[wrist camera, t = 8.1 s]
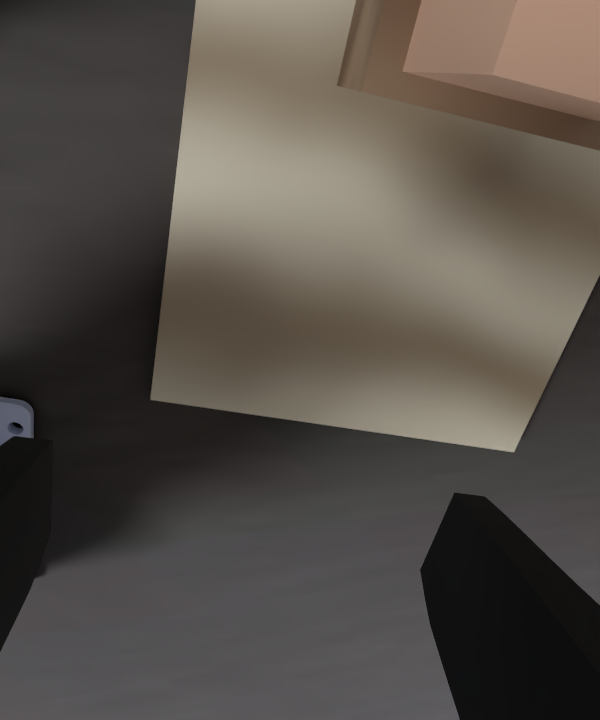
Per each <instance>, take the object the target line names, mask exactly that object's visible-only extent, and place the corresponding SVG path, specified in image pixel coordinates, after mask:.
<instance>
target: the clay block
mask: <svg viewBox="0 0 600 720" xmlns="http://www.w3.org/2000/svg"><path fill="white" fill-rule="evenodd" d="M402 72H406V73H410V74H414V75H418V76H422V77H426V78H430V79H434V80H438V81H442V82H446V83H450V84H453V85H457V86H461V87H465V88H469V89H473V90H477V91H481V92H485V93H489V94H493V95H497V96H500V97H504V98H508V99H512V100H516V101H520V102H524V103H528V104H532V105H536V106H540V107H544V108H548V109H551V110H555V111H559V112H563V113H567V114H571V115H575V116H579V117H583V118H587V119H591V120H595V121H600V0H422V1H421V4H420V8H419V12H418V16H417V19H416V23H415V27H414V30H413V34H412V38H411V42H410V45H409V49H408V53H407V57H406V60H405V64H404V68H403V71H402Z"/></svg>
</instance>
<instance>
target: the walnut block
mask: <svg viewBox="0 0 600 720" xmlns="http://www.w3.org/2000/svg"><path fill="white" fill-rule="evenodd" d="M421 1H422V0H356V3H355V7H354V11H353V16H352V20H351V25H350V29H349V34H348V38H347V43H346V47H345V51H344V56H343V60H342V65H341V69H340V74H339V78H338V83H337V86H340V87H344V88H348V89H352V90H356V91H360V92H364V93H368V94H372V95H376V96H380V97H384V98H388V99H392V100H396V101H400V102H404V103H408V104H412V105H417V106H421V107H425V108H429V109H433V110H437V111H441V112H445V113H449V114H453V115H457V116H461V117H465V118H469V119H473V120H477V121H481V122H485V123H489V124H493V125H497V126H501V127H505V128H509V129H513V130H517V131H521V132H525V133H529V134H534V135H538V136H542V137H546V138H550V139H554V140H558V141H562V142H566V143H570V144H574V145H578V146H582V147H586V148H591V149H595V150H599V151H600V121H595V120H591V119H587V118H583V117H579V116H575V115H571V114H567V113H563V112H559V111H555V110H551V109H548V108H544V107H540V106H536V105H532V104H528V103H524V102H520V101H516V100H512V99H508V98H504V97H500V96H497V95H493V94H489V93H485V92H481V91H477V90H473V89H469V88H465V87H461V86H457V85H453V84H450V83H446V82H442V81H438V80H434V79H430V78H426V77H422V76H418V75H414V74H410V73H406V72H402V71H403V68H404V64H405V60H406V57H407V53H408V49H409V45H410V42H411V38H412V34H413V30H414V27H415V23H416V19H417V16H418V12H419V8H420V4H421Z"/></svg>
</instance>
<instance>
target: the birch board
mask: <svg viewBox="0 0 600 720" xmlns="http://www.w3.org/2000/svg"><path fill="white" fill-rule="evenodd" d="M355 3H356V0H196V6H195V14H194V23H193V32H192V41H191V49H190V58H189V67H188V75H187V84H186V93H185V102H184V110H183V119H182V128H181V136H180V145H179V154H178V163H177V171H176V180H175V189H174V197H173V206H172V215H171V224H170V232H169V241H168V250H167V258H166V267H165V276H164V285H163V293H162V302H161V311H160V319H159V328H158V337H157V346H156V354H155V363H154V372H153V380H152V389H151V398H150V400H155V401H162V402H169V403H176V404H183V405H190V406H197V407H204V408H211V409H218V410H224V411H231V412H238V413H245V414H252V415H259V416H266V417H273V418H280V419H287V420H294V421H301V422H308V423H314V424H321V425H328V426H335V427H342V428H349V429H356V430H363V431H370V432H377V433H384V434H391V435H398V436H405V437H411V438H418V439H425V440H432V441H439V442H446V443H453V444H460V445H467V446H474V447H481V448H488V449H495V450H502V451H508V452H514V451H515V449H516V447H517V445H518V443H519V441H520V438H521V436H522V434H523V432H524V430H525V428H526V426H527V424H528V422H529V420H530V418H531V416H532V414H533V412H534V410H535V408H536V405H537V403H538V401H539V399H540V397H541V395H542V393H543V391H544V389H545V387H546V385H547V383H548V381H549V379H550V377H551V374H552V372H553V370H554V368H555V366H556V364H557V362H558V360H559V358H560V356H561V354H562V352H563V350H564V348H565V346H566V344H567V341H568V339H569V337H570V335H571V333H572V331H573V329H574V327H575V325H576V323H577V321H578V319H579V317H580V315H581V313H582V310H583V308H584V306H585V304H586V302H587V300H588V298H589V296H590V294H591V292H592V290H593V288H594V286H595V284H596V282H597V280H598V277H599V275H600V151H599V150H595V149H591V148H586V147H582V146H578V145H574V144H570V143H566V142H562V141H558V140H554V139H550V138H546V137H542V136H538V135H534V134H529V133H525V132H521V131H517V130H513V129H509V128H505V127H501V126H497V125H493V124H489V123H485V122H481V121H477V120H473V119H469V118H465V117H461V116H457V115H453V114H449V113H445V112H441V111H437V110H433V109H429V108H425V107H421V106H417V105H412V104H408V103H404V102H400V101H396V100H392V99H388V98H384V97H380V96H376V95H372V94H368V93H364V92H360V91H356V90H352V89H348V88H344V87H340V86H337V83H338V78H339V74H340V69H341V65H342V60H343V56H344V51H345V47H346V43H347V38H348V34H349V29H350V25H351V20H352V16H353V11H354V7H355Z"/></svg>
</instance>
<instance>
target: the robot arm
mask: <svg viewBox="0 0 600 720" xmlns="http://www.w3.org/2000/svg"><path fill="white" fill-rule="evenodd" d="M12 422H16V423H19V424H20V425H21V426H22V427H23V428H17V427H15V426H14V425H13V423H12ZM52 446H53V441H50V440H42V439H34V412H33V409H32V407H31V406H30V405H29V404H28V403H26V402H25V401H22V400H18V399H11V398H4V397H0V651H1V649H2V647H3V645H4V643H5V641H6V639H7V637H8V635H9V632H10V630H11V628H12V626H13V624H14V622H15V620H16V618H17V616H18V614H19V612H20V610H21V608H22V606H23V603H24V601H25V599H26V597H27V595H28V593H29V591H30V589H31V586H32V583H33V580H34V578H35V575H36V572H37V569H38V567H39V564H40V561H41V558H42V555H43V552H44V549H45V546H46V543H47V540H48V538H49V535H50V532H51V490H52ZM420 571H421V577H422V583H423V589H424V595H425V601H426V606H427V611H428V616H429V621H430V625H431V629H432V632H433V635H434V639H435V642H436V645H437V648H438V652H439V655H440V658H441V661H442V665H443V668H444V671H445V674H446V677H447V680H448V684H449V687H450V690H451V693H452V696H453V699H454V702H455V706H456V709H457V712H458V715H459V718H460V720H600V605H599V604H598V603H597V602H595V601H594V600H593V599H592V598H591V597H590V596H589V595H588V594H587V593H586V592H585V591H584V590H582V589H581V588H580V587H579V586H578V585H577V584H576V583H575V582H574V581H573V580H572V579H571V578H570V577H569V576H568V575H567V574H566V573H565V572H564V571H563V570H561V569H560V568H559V567H558V566H557V565H556V564H555V563H554V562H553V561H552V560H551V559H550V558H549V557H548V556H547V555H546V554H545V553H544V552H543V551H542V550H541V549H540V548H539V547H538V546H537V545H536V544H535V543H534V542H533V541H532V540H531V539H530V538H529V537H528V536H527V535H526V534H524V533H523V532H522V531H521V530H520V529H519V528H518V527H517V526H516V525H515V524H514V523H513V522H512V521H511V520H510V519H509V518H508V517H507V516H506V515H505V514H504V513H503V512H502V511H500V510H499V509H498V508H497V507H496V506H495V505H494V504H493V503H492V502H490V501H489V500H488V499H487V498H486V497H484V496H476V495H469V494H461V493H454V495H453V497H452V500H451V502H450V504H449V506H448V509H447V511H446V513H445V515H444V518H443V520H442V522H441V524H440V527H439V529H438V531H437V533H436V536H435V538H434V540H433V542H432V545H431V547H430V549H429V551H428V554H427V556H426V558H425V561H424V563H423V565H422V567H421V570H420Z"/></svg>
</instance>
